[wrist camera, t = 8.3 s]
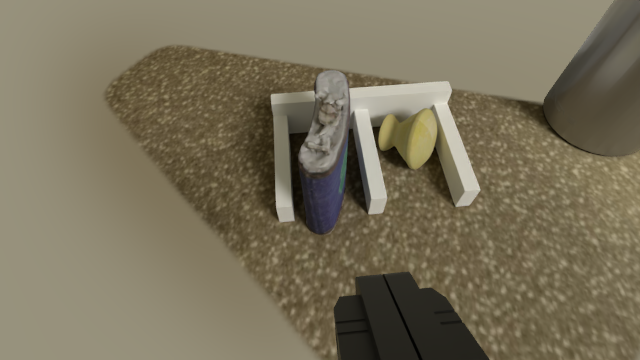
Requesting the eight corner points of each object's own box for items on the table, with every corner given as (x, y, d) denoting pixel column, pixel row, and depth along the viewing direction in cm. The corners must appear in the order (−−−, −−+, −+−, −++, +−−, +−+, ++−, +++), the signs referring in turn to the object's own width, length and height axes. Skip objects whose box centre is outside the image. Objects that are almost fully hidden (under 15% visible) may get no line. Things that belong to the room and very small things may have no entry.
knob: (438, 142, 33) (454, 104, 29) (416, 183, 31) (431, 148, 26) (391, 123, 34) (400, 83, 30) (367, 161, 32) (373, 124, 28)
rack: (436, 112, 35) (448, 80, 32) (469, 205, 29) (488, 179, 26) (276, 124, 34) (270, 94, 31) (279, 222, 29) (273, 197, 25)
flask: (318, 142, 33) (316, 44, 24) (350, 146, 33) (360, 48, 24) (302, 234, 28) (291, 155, 19) (339, 239, 28) (346, 161, 19)
